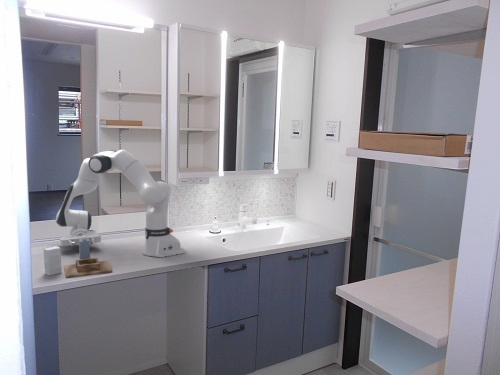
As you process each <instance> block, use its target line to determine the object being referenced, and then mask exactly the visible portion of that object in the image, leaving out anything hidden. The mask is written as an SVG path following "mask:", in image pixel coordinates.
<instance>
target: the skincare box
mask: <svg viewBox="0 0 500 375" xmlns="http://www.w3.org/2000/svg"><path fill="white" fill-rule="evenodd" d="M43 263H44V275H47V276H48V277H49V276H50V277H51V276H53V275H57V274H60V273H61V274H62V254H61V247H59V246H55V245H54V246H51V247H47V248H43Z"/></svg>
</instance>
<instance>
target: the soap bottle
mask: <svg viewBox="0 0 500 375" xmlns="http://www.w3.org/2000/svg"><path fill="white" fill-rule="evenodd" d="M90 245H91V244H90V241H89V239H86V236H82V239H80V240H79V245H78V251H79V252H78V253H79V255H78V256H79V259H88V258H91V255H90V254H91V252H90V251H91V248H90V247H91V246H90Z"/></svg>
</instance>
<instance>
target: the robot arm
mask: <svg viewBox="0 0 500 375" xmlns="http://www.w3.org/2000/svg"><path fill="white" fill-rule="evenodd" d="M117 169H118V170H119V171H120V172H121V174H123V175H124V177H126V179H128V181H129V182H130V183H131V184H132V185H133V187H134V188H135V189H136V191H137V192H138V194H139V195H140V198H141V201H142V202H143V203H144V204H146V205H148V206H147V210H146V212H145V230H144V237H145V242H144V243H145V244H144V248H143V255H145V256H147V257H148V256H149V257H156V258H164V257H165V256H166V257H171V256H177V255H180V254H181V255H182V254H185V253H184V252H186V250H185V248H183V247H182V246H181V242H180V239H178V238H177V237H176V236H175V235H173V234H172V233H173V231H174V230H173V228H171V227H168V223H167V221H168V210H169V209H168V208H169V203H170V195H171V191H172V189H171V186H170V185H169V183H167V182H165V181H162V180H161V181H160V180H159V181H158V180H157V181H156V180H155V179H154V178H153V176H152V175H151V173H150V171H149V169H148V168H147V167H146V166H145V165H144V164H143V163H142V162H141V161H140V160H139V159H138V158H137V157H136V156H134V155H133V154H132V153H131V152H130V151H128V150H127V149H120V150H115V149H114V150H113V149H111V150H106V151H101V152H98V153H95V154H93V155H92V156H90V157H87V158H85V159H84V160H83V161H82V163H81V166H80V168H79V171H78V176H77V178H76V180H75V181H74V182H73V183H71V184H70V185H69V186H68V188H67V190H66V193H65V194H64V197H63V200H64V201H63V200H62V203H61V204H60V207H59V210H58V212H57V213H56V216H55V223H56V224H57V225H58V226H60V227H69V228H70V227H71V228H70V231H69V235H65V236H62V237H60V238H59V241H60V245H61V246H62V247H64V246H71V247H73V246H79V240H80V239H82V236H86V239H89V241H90V245H92V244H97V243H101V241H102V239H101V238H102V236H101V234H100V232H99V233H98V232H97V231H96V230H95V229H94V230H93V229H91V227H92V214H91V213H90V212H89V211H88V210H78V209H77V210H76V209H70V207H71V204H72V201H73V199H74V198H76V197H77V196H82V195H86V194H90V193H92V192H94V191H95V190H96V189H97V188H98V186H99V182H100V177H101V174H104V173H107V172H112V171H114V170H117ZM176 254H177V255H176Z"/></svg>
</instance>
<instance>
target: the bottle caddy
mask: <svg viewBox="0 0 500 375" xmlns="http://www.w3.org/2000/svg"><path fill="white" fill-rule="evenodd" d="M63 270H64V274H65V278H66V279H69V278H76V277H84V276H92V275H100V274H109V272H110V273H113V269H112V266H111V265H110V263H109V261H108V260H99V258H98V257H90V258H88V259H80V258H79V259H75V263H72V264H64V265H63Z"/></svg>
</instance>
